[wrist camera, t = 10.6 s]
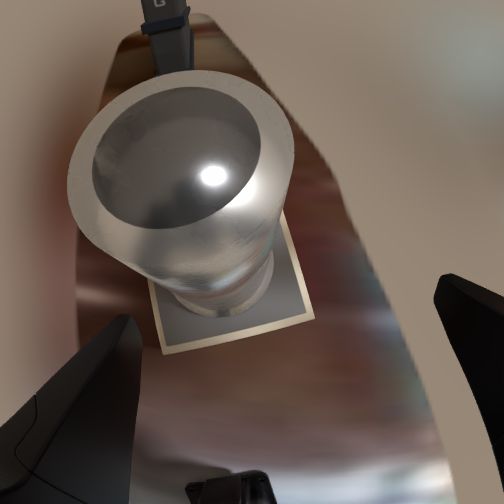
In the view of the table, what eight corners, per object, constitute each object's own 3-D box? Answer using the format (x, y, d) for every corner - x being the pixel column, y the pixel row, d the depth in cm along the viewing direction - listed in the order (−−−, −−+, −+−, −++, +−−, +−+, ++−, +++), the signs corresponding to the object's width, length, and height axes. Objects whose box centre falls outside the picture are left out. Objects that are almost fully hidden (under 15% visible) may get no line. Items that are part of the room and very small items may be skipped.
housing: (285, 302, 18) (352, 241, 6) (178, 328, 18) (58, 311, 6) (257, 204, 20) (266, 48, 8) (160, 228, 19) (67, 102, 7)
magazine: (156, 112, 24) (130, -34, 13) (171, 78, 33) (155, -22, 21) (196, 104, 24) (176, -45, 13) (199, 73, 33) (186, -28, 21)
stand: (307, 320, 21) (316, 318, 18) (172, 352, 20) (161, 355, 17) (270, 196, 23) (273, 178, 20) (149, 226, 23) (136, 211, 20)
